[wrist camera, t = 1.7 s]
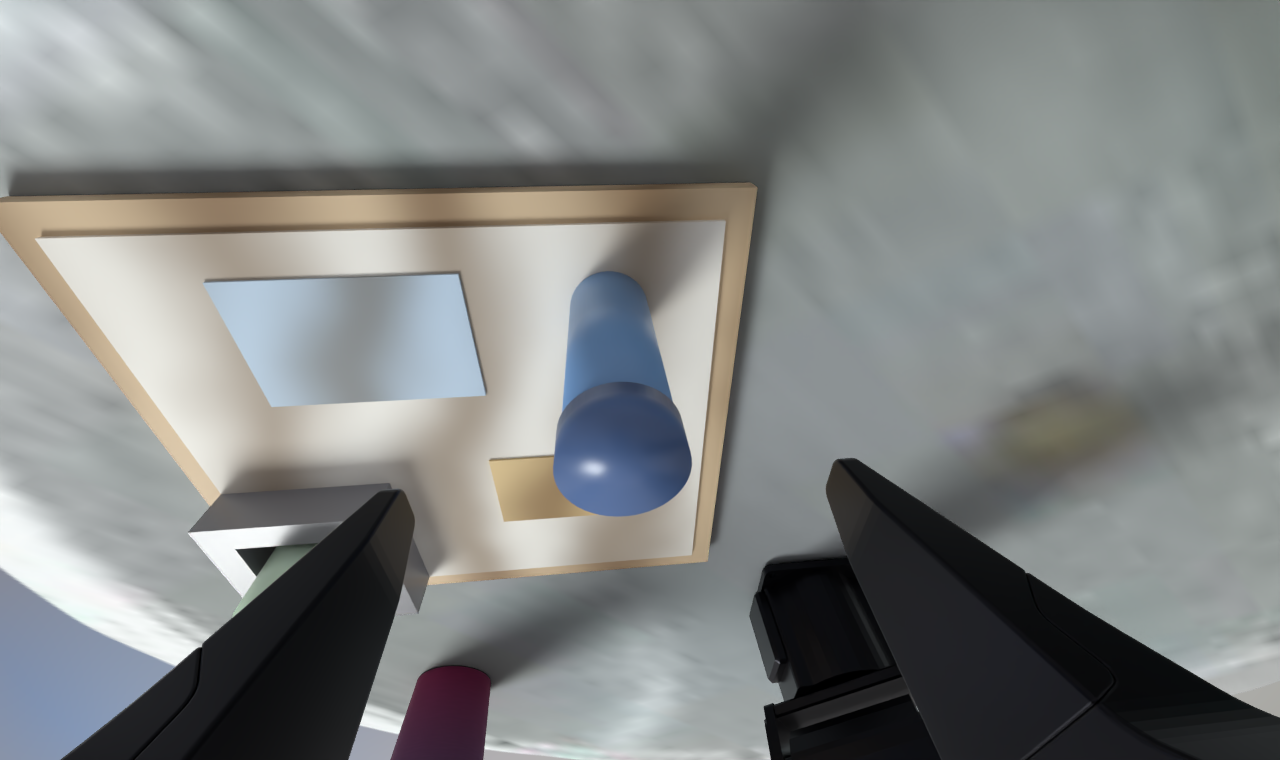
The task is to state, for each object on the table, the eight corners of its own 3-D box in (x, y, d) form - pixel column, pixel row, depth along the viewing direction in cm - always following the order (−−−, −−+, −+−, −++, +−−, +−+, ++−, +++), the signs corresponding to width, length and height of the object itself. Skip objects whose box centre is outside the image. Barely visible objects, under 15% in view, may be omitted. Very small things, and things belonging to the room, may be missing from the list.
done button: (355, 528, 20) (323, 592, 18) (383, 581, 22) (358, 645, 20) (258, 535, 20) (212, 601, 17) (297, 588, 22) (260, 654, 20)
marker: (650, 267, 16) (696, 411, 9) (649, 342, 18) (687, 511, 11) (563, 269, 16) (545, 419, 9) (570, 346, 17) (560, 521, 11)
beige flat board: (750, 182, 16) (760, 189, 15) (704, 549, 27) (708, 566, 26) (7, 196, 14) (-34, 205, 13) (287, 583, 25) (276, 602, 24)
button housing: (389, 483, 20) (372, 519, 19) (429, 576, 24) (418, 613, 23) (220, 494, 20) (187, 532, 18) (289, 588, 24) (267, 626, 22)
